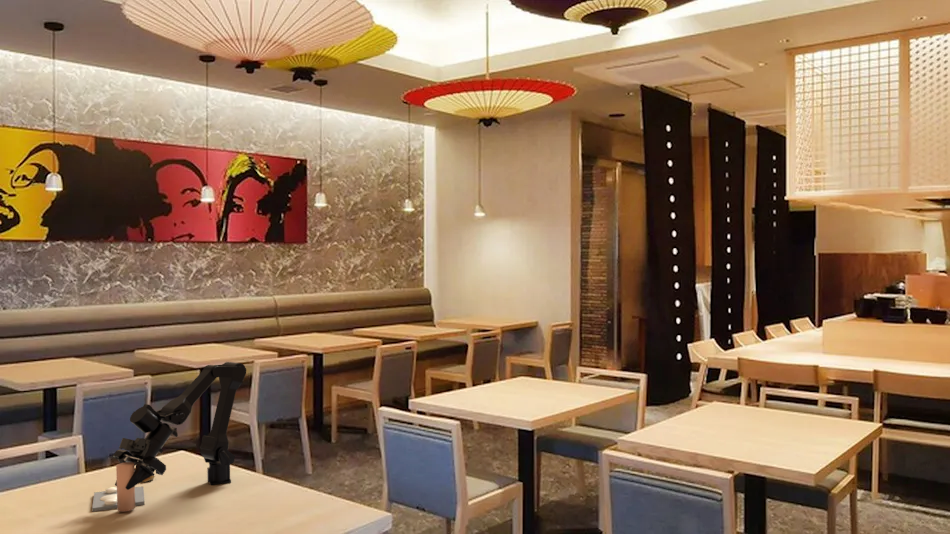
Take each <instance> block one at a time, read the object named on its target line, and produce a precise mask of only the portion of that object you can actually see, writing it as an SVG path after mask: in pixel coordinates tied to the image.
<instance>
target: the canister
mask: <svg viewBox="0 0 950 534" xmlns="http://www.w3.org/2000/svg"><path fill="white" fill-rule="evenodd" d="M115 467H116V474H115V475H116V480H117V486H116V487H117V508H116V510H117V511H118V512H130V511H133V510H135V509H136V506H135V487H136V485H135V486H134V487H132V488H131V489H129V490H127V489H126V488H125V487H126V485H127V484H128V482H129V480H130V479H131V477H132V475H133V474H134V472H135V470H134V468H135V466H134V463H133V462H125V463H120V462H119V463H118V464H116V466H115Z"/></svg>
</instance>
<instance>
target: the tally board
mask: <svg viewBox="0 0 950 534" xmlns="http://www.w3.org/2000/svg"><path fill="white" fill-rule="evenodd" d="M92 500H93V501H92V508H91V509H92V510H91V511H92V512H99V511H107V510H108V511H109V510H115V509H116V510H117V486H113V487H108V488H105V490H104V491H102V490H101V491H97V492H93V499H92ZM137 506H138V507H139V506H145V489H144V486H135V507H137Z"/></svg>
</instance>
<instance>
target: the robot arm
mask: <svg viewBox="0 0 950 534" xmlns="http://www.w3.org/2000/svg"><path fill="white" fill-rule="evenodd" d="M246 375H247V368H246V366H245V364H243V363H241V362H232V361H226V362H224V363H222V364H207V365H206V366H204V367H203V369H202V371H201V372H200V373H199V374H198V375H197V376H196V377H195V379H194V380H193V381H192V382H191V383H190V384H189V385H188V386H187V388H186V389H184V391H183V392H182V393H180V395H179V396H177V397H175V398H174V399H171V400H169V402H167V403H166V404H165V405H164V406H163V407H162V408H161V409H159V410H155V409H154V408H153V407H152V406H151V405H150V404H148V403H144V404H143V406H141V407H138V408H137V409H136V410H135V411H133V412H132V413H131V415H130V417H129V420H130V423H132V424H133V425H134V426H135V427H136V428H138V430H140V431H141V432H143V433H144V434H146V433H147V435H146V436H145V437H144V438H143V437H142V438H141V437H136V439H130V438H126V437H122V439H121V442H120V444H119V447H118V450H116V451H115V452H114V454H113V455H112V456H113V458H114V459H116V460H117V461H118V462H119V464H120V463H125V462H133V463H134V470H135V472H134V474H133V475H132V477H131V479H130V480H129V482H128V484H127V485H126V487H125V488H126V489H127V490H129V489H131V488H132V487H134V486H135V487H136V486H137V485H138V484H139V485H140V483H143V482H142V481H143V480H145V479H147V478H149V477H151V476H154V477H155V474H157V475H159V476H164V474H165V472H166V471H167V465H166V464H165V463H164V462H162V461H161V460H160V459H159V458H157V457H156V456H157V455H158V454H162V453H163V452H164V449H163V447H164V445H165V444H166V442H167V441H168V440H169V438H170V437H175V438H178V436H179V435H178V429H177V427H174V426H170V425H176V426H180V425H183V424H184V423H185V422H186V421H187V419H188V418H189V416H190V414H191V412H192V408H193V406H194V404H195V403H196V402H197V401H198V400H199V399H200V397H201V396H202V395H203V394H204V392H206V391H207V389H208V388H209V387H210V386H211V385H212V383H214V381H215V380H216V379H217V378H218V379H219V384H220V393H219V396H218V398H217V399H218V400H217V404H216V409H215V413H214V417H213V421H212V424H211V425H212V426H211V429H210V432H209V433H208V434H207V435H202V437H201V443H200V446H199V449H200V455H201V456H202V458H203V460H204V462H205V463H207V464H208V467H207V469H206V472H207V474H206V475H207V477H206V478H207V480H206V481H207V482H208V483H209V485H211V486H213V485H220V484H221V483H222V484H229V482H230V483H232V479H231V464H234V462H235V458H236V456H235V455H234V454H233V453H232V452H231V451H230V450H229V445H230V444H229V440H228V435H227V432H228V428H229V423H230V419H231V415H232V411H233V407H234V403H235V399H236V398H235V397H236V393H237V390H238V389H239V388H240V387H241V385H242V384H243V382H244V380H245V377H246ZM169 424H170V425H169ZM135 467H136V469H135ZM114 487H117V479H116V480H115V484H114Z"/></svg>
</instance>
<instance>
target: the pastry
mask: <svg viewBox="0 0 950 534" xmlns="http://www.w3.org/2000/svg"><path fill="white" fill-rule="evenodd" d="M134 468H135V469H136V466H134ZM154 479H155V475H154V476H151V477H149V478H147V479H145V480H143V481H142V482H141V483H147V482H149V481H154Z"/></svg>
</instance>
